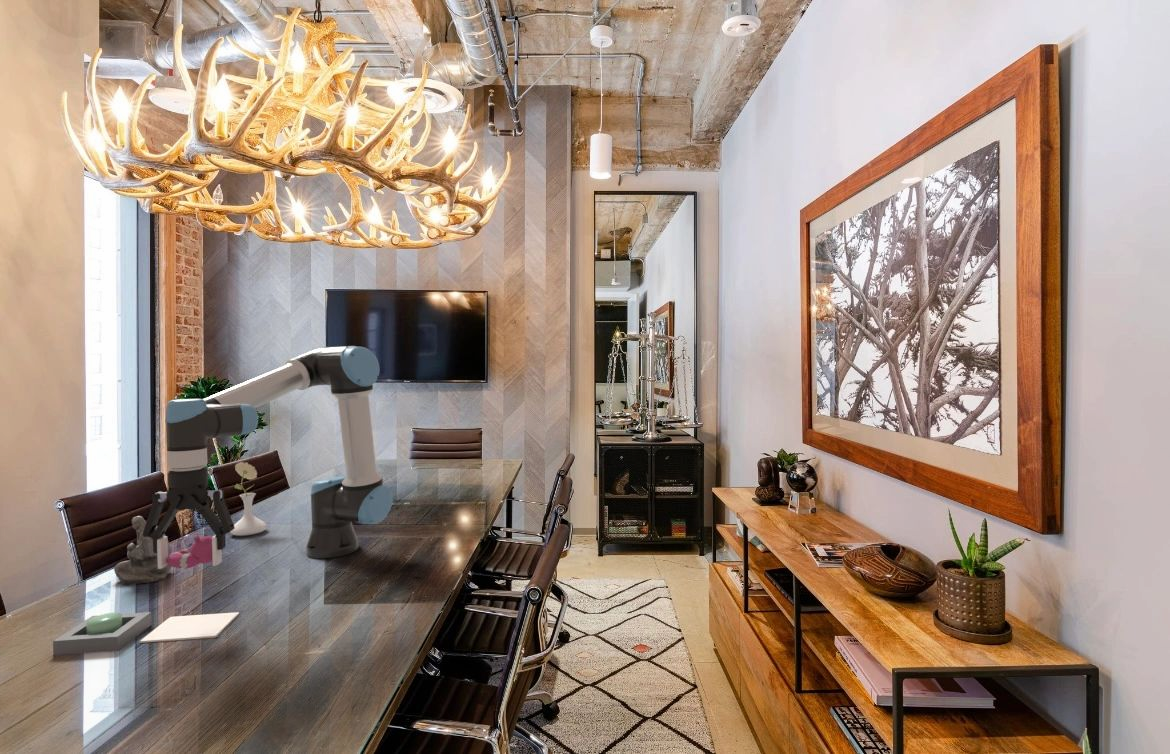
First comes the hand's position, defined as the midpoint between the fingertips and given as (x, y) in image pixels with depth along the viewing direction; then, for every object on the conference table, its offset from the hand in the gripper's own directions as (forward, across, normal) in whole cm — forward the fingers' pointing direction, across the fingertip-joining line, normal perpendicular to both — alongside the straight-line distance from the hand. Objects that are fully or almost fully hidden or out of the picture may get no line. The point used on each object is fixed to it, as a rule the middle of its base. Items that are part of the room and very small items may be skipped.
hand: (190, 565), depth 132 cm
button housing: (+14, +16, +3) cm, 22 cm away
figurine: (+15, +29, -35) cm, 48 cm away
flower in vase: (+14, +18, -76) cm, 80 cm away
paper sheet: (+14, 0, 0) cm, 14 cm away
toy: (+1, 0, -3) cm, 3 cm away
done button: (+13, +16, +3) cm, 21 cm away
